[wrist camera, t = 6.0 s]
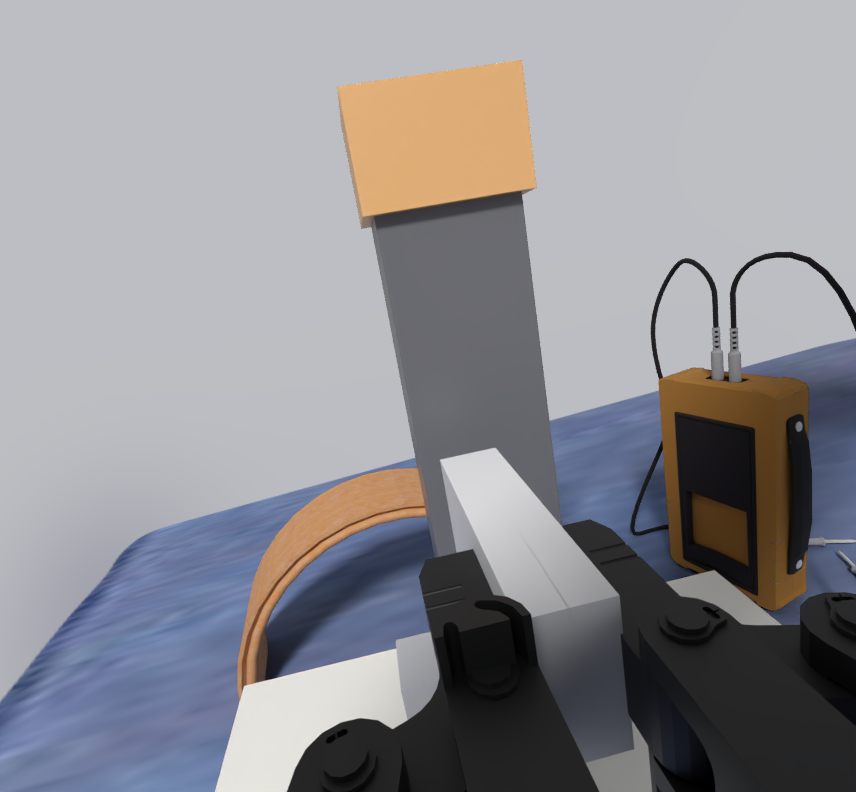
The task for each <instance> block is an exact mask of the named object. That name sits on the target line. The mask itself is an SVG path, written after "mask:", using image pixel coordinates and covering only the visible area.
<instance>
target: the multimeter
mask: <svg viewBox="0 0 856 792" xmlns="http://www.w3.org/2000/svg"><path fill="white" fill-rule="evenodd" d="M781 257H782V258H789V257H790V258H793V259H796V260H799V261H803V262H806V263H808V264H809V265H810V266H812V267H813V268H814V269H816V270H817V271H818V272H819V273H821V274H822V275H823V276H824V277H825V278H826V280H827V281H828V283H829V284H830V285H831V286H832V287H833V289H834V290H835V291H836V293H837V294H838V296H839V298H840V299H841V301H842V303H843V305H844V307H845V309H846V310H847V312H848V314H849V316H850V318H851V321H852V323H853V325H854V328H855V331H856V312H855V311H854V309H853V307H852V306H851V303H850V302H849V300H848V298H847V296H846V294H845V292H844V291H843V289H842V288H841V287H840V286H839V284H838V283H837V282H836V281H835V279H834V278H833V277H832V276H831V274H830V273H829V272H828V271H827V270H826V269H825V268H823V267H822V266H821V265H819V264H818V263H817V262H815V261H814V260H813V259H811V258H810V257H806V256H803V255H800V254H796V253H793V252H774V253H769V254H764V255H761V256H759V257H756V258H754V259H753V260H751V261H750V262H748V263H747V264H746V265H745V266H744V267H743V268H742V269H741V270H740V271H739V272H738V274H737V275H736V277H735V279H734V281H733V283H732V286H731V292H730V309H731V328H730V347H731V349H730V352H729V353H728V362H729V372H724V368H723V351H722V350H721V346H720V327H718V300H717V290H716V286H715V283H714V282H713V279H712V277H711V276H710V275H709V273H708V272H707V271H706V270H705V268H704V267H703V266H701V265H700V264H699V263H698V262H696V261H695V260H692V259H688V258H685V259H682V260H680V261H678V262H677V263H676V264H675V265H674V267H673V268H672V269H671V271H670V272H669V274H668V275H667V277H666V279H665V281H664V283H663V285H662V287H661V289H660V291H659V294H658V296H657V299H656V302H655V306H654V310H653V314H652V321H651V342H652V351H653V356H654V361H655V365H656V370H657V373H658V377H659V395H660V410H661V425H662V442H661V444H660V447H659V449H658V451H657V454H656V456H655V458H654V461H653V463H652V465H651V468H650V470H649V472H648V475H647V477H646V480H645V482H644V484H643V487H642V489H641V492H640V494H639V497H638V500H637V503H636V505H635V509H634V512H633V515H632V520H631V530H632V533H633V535H642V534H645V533H649V532H652V531H656V530H660V529H664V528H669V535H670V548H671V550H670V554H671V557H672V559H673V560H674V561H675V562H676V563H678V564H680V565H681V566H683V567H685V568H686V569H688V568H691V569H693V570H695V571H697V572H699V573H705V572H709V571H713V570H715V571H716V572H717V573H718V574H720V575H721V576H722V577H723V578H725V579H726V580H727V581H728V582H730V583H731V584H732V585H733V586H734V587H736V588H737V589H738V590H739V591H741V592H742V593H743V594H744V595H746V596H747V597H748V598H750V599H752V600H754V601H756V602H757V605H758V606H761V607H763V608H765V609H768V610H770V611H776V610H778V609H780V608H782V607H783V606H785V605H786V604H788V603H789V602H791V601H792V600H794V599H795V598H797V597H798V596H800V595H802V594H803V593H805V592H806V591H807V588H806V564H807V550H808V546H819V545H821V546H825V545H826V543H854V542H856V540H825V539H824V537H820V538H810V531H811V525H812V468H811V459H810V449H809V441H808V399H809V388H808V386H807V384H806V383H804V382H802V381H800V380H798V379H792V378H787V377H782V378H777V377H768V376H760V375H751V374H742V373H741V353H740V352H739V351H738V328H736V295H735V293H736V288H737V284H738V282H739V280H740V278H741V276H742V275H743V273H744V272H745V271H746V270H747V269H748V268H749V267H750V266H752V265H753V264H755V263H757V262H760V261H762V260H765V259H770V258H781ZM683 263H689V264H692V265H693V266H695V267H696V268H697V269H699V270H700V271H701V272H702V274H703V275H704V276H705V277H706V279H707V281H708V283H709V285H710V288H711V291H712V303H713V328H712V331H713V333H712V335H713V351H712V352H711V367H712V370H706V369H704V368H690V369H687V370H684V371H681V372H679V373H676V374H673V375H670V376H667V377H664V378H663V376H662V373H661V369H660V365H659V360H658V355H657V349H656V339H655V323H656V316H657V311H658V307H659V304H660V301H661V298H662V295H663V293H664V291H665V288H666V286H667V284H668V282H669V281H670V279H671V277H672V276H673V274H674V273H675V271H676V270H677V269H678V268H679V266H680V265H682V264H683ZM662 450H663V456H664V471H665V484H666V497H667V510H668V523H669V525H663V526H659V527H655V528H651V529H647V530H644V531H641V532H635V529H634V526H635V519H636V515H637V512H638V509H639V506H640V503H641V500H642V498H643V495H644V492H645V490H646V487H647V485H648V482H649V480H650V478H651V475H652V473H653V471H654V468H655V466H656V464H657V462H658V459H659V457H660V455H661V452H662ZM838 551H839V550H838ZM839 553H840V555H841V556H842V557H843V558H844V559H845V560H846V561H847V562H848V563H849V564H850V565H851V566H852V567H851V571H852V572H853V573H854V574H856V565H854V564H853V563H852V562H851V561H850V560H849V559H848V558H847V557H846V556H845V555H844V553H842V552H841V551H839Z"/></svg>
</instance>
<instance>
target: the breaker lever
mask: <svg viewBox="0 0 856 792" xmlns="http://www.w3.org/2000/svg"><path fill="white" fill-rule="evenodd" d="M338 98H339V108H340V117H341V126H342V132H343V137H344V142H345V147H346V152H347V157H348V162H349V167H350V172H351V178H352V183H353V188H354V193H355V198H356V203H357V208H358V213H359V219H360V224H361V228H367V227H372V232H373V238H374V243H375V248H376V253H377V259H378V264H379V269H380V274H381V279H382V285H383V290H384V295H385V301H386V305H387V310H388V316H389V321H390V327H391V332H392V337H393V342H394V347H395V353H396V358H397V363H398V368H399V374H400V379H401V384H402V390H403V395H404V400H405V405H406V410H407V415H408V421H409V425H410V431H411V437H412V442H413V447H414V452H415V458H416V463H417V468H418V473H419V478H420V484H421V489H422V494H423V499H424V505H425V510H426V515H427V520H428V526H429V531H430V536H431V541H432V547H433V552H434V557H435V558H436V557H441V556H445V555H449V554H453V553H457V552H456V546H455V541H454V535H453V530H452V524H451V518H450V513H449V507H448V502H447V496H446V491H445V485H444V480H443V474H442V469H441V463H440V460H441V459H445V458H450V457H455V456H459V455H464V454H468V453H473V452H478V451H482V450H487V449H491V448H496V449H497V450H498V451H499V453H500V454H501V455H502V456H503V457H504V459H505V460H506V461H507V462H508V463H509V464H510V466H511V467H512V468H513V469H514V470H515V472H516V473H517V474H518V475H519V476H520V478H521V479H522V480H523V481H524V482H525V483H526V485H527V486H528V487H529V488H530V489H531V491H532V492H533V493H534V494H535V495H536V497H537V498H538V499H539V500H540V501H541V503H542V504H543V505H544V506H545V507H546V508H547V510H548V511H549V512H550V513H551V514H552V516H553V517H554V518H555V519H556V520H557V522H558V523H559V524H560V525H561V526H562V521H561V513H560V504H559V496H558V488H557V480H556V472H555V463H554V455H553V447H552V439H551V430H550V422H549V414H548V406H547V398H546V390H545V381H544V373H543V365H542V357H541V348H540V341H539V332H538V324H537V315H536V307H535V299H534V291H533V283H532V274H531V267H530V258H529V250H528V241H527V234H526V225H525V217H524V209H523V200H522V195H523V194H525V193H527V192H528V191H530V190H532V189H534V188H536V178H535V169H534V161H533V152H532V143H531V134H530V127H529V118H528V109H527V100H526V91H525V82H524V73H523V65H522V60H518V61H511V62H504V63H497V64H490V65H483V66H476V67H469V68H462V69H455V70H448V71H441V72H435V73H428V74H421V75H414V76H407V77H400V78H393V79H386V80H379V81H373V82H365V83H359V84H352V85H345V86H338Z"/></svg>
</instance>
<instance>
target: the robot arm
mask: <svg viewBox="0 0 856 792" xmlns="http://www.w3.org/2000/svg"><path fill="white" fill-rule="evenodd" d="M440 463H441V469H442V474H443V480H444V485H445V491H446V496H447V502H448V507H449V513H450V518H451V524H452V530H453V535H454V541H455V546H456V552H457V553H453V554H449V555H445V556H441V557H436V558H432V559H428V560H426V561H425V563H424V566H423V568H422V571H421V573H420V575H419V579H420V584H421V589H422V594H423V599H424V604H425V609H426V613H427V618H428V623H429V628H430V633H431V638H432V643H433V647H434V652H435V657H436V661H437V666H438V670H439V681H438V685H437V689H436V691H435V693H434V694H433V696H432V698H431V700H430V701H429V702H428V703H427V704H426V705H425V706H424V708H423V709H422V710H421V711H420V712H418V713H417V714H416V715H414V716H413V717H411V718H410V719H409V720H407V721H405V722H404V723H402V724H400V725H399V726H397V727H395V728H394V729H392V728H390V727H388V726H387V725H385V724H383V723H382V722H380V721H379V720H372V719H364V718H358V719H354V720H349V721H345V722H341V723H339V724H337V725H335V726H333V727H332V728H330V729H328V730H326V731H325V732H323V733H321V734H320V735H319V736H318V737H317V738H316V739H315V740H314V741H313V742H312V743H311V744H310V745H309V746H308V747H307V748H306V750H305V751H304V753H303V755H302V757H301V759H300V760H299V762H298V764H297V766H296V768H295V770H294V773H293V776H292V779H291V781H290V784H289V787H288V790H287V792H599V790H598V788H597V785H596V783H595V781H594V779H593V777H592V775H591V773H590V771H589V769H588V767H587V765H586V763H587V762H591V761H594V760H598V759H601V758H605V757H608V756H612V755H616V754H619V753H623V752H626V751H630V750H633V749H634V740H633V730H632V721H633V723H634V724H635V726H636V727H637V729H638V731H639V732H640V734H641V735H642V737H643V738H644V740H645V742H646V743H647V745H648V750H649V762H650V773H651V784H652V792H856V594H851V593H846V592H844V593H822V594H819V595H816V596H812V597H809V598H808V599H807V600H806V601H805V602H804V603H803V604H802V605H801V606H800V625H745V624H741V623H740V622H738V621H737V620H736V619H735V618H734V617H733V616H732V615H730V614H729V613H727V612H726V611H724V610H723V609H721V608H720V607H718V606H717V605H715V604H712V603H709V602H706V601H703V600H701V599H698V598H690V597H682V596H680V595H679V594H678V593H677V592H676V591H675V590H673V589H672V588H671V587H670V586H669V585H668V584H667V583H666V582H665V581H664V580H663V579H662V578H661V577H660V576H659V575H658V574H657V573H656V572H655V571H654V570H653V569H652V568H651V567H650V566H649V565H648V564H647V563H646V562H645V561H644V560H643V559H642V558H641V557H638V556H637V554H636V553H635V552H634V551H633V550H632V549H631V548H630V547H629V546H628V545H626V544H625V542H624V541H623V540H622V539H621V538H620V537H619V536H618V535H617V534H616V533H615V532H614V531H613V530H612V529H610V528H608V527H606V526H603V525H601V524H599V523H597V522H594V521H592V520H585V521H581V522H577V523H573V524H568V525H564V526H561V525H560V524H559V523H558V522H557V520H556V519H555V518H554V517H553V516H552V514H551V513H550V512H549V511H548V510H547V508H546V507H545V506H544V505H543V504H542V503H541V501H540V500H539V499H538V498H537V497H536V495H535V494H534V493H533V492H532V491H531V489H530V488H529V487H528V486H527V485H526V483H525V482H524V481H523V480H522V479H521V478H520V476H519V475H518V474H517V473H516V472H515V470H514V469H513V468H512V467H511V466H510V464H509V463H508V462H507V461H506V460H505V459H504V457H503V456H502V455H501V454H500V453H499V451H498V450H497V449H496V448H491V449H487V450H482V451H478V452H473V453H468V454H464V455H459V456H455V457H450V458H445V459H441V460H440ZM631 719H632V720H631Z"/></svg>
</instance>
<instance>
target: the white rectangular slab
mask: <svg viewBox="0 0 856 792" xmlns="http://www.w3.org/2000/svg"><path fill="white" fill-rule="evenodd" d="M666 583H667V584H668V585H669V586H670V587H671V588H672V589H673V590H675V591H676V592H677V593H678V594H679V595H680V596H682V597H690V598H698V599H701V600H703V601H706V602H709V603H712V604H715V605H717V606H718V607H720V608H721V609H723V610H724V611H726V612H727V613H729V614H730V615H732V616H733V617H734V618H735V619H736V620H737V621H738V622H740V623H741V624H745V625H781V624H780V623H779V622H777V621H776V620H775V619H774V618H773V617H771V616H770V615H769V614H768V613H766V612H765V611H764V610H763V609H761V608H760V607H759V606H758V605H757V604H755V603H754V602H753V601H752V600H750V599H749V598H748V597H747V596H746V595H744V594H743V593H742V592H741V591H739V590H738V589H737V588H736V587H734V586H733V585H732V584H731V583H730V582H728V581H727V580H726V579H725V578H723V577H722V576H721V575H720V574H718V573H717V572H716V571H715V570H713V571H709V572H705V573H701V574H697V575H693V576H688V577H684V578H680V579H676V580H672V581H668V582H666ZM395 641H396V649H392V650H388V651H384V652H380V653H376V654H372V655H368V656H364V657H360V658H356V659H352V660H348V661H344V662H339V663H335V664H331V665H327V666H323V667H319V668H315V669H311V670H307V671H303V672H299V673H295V674H291V675H287V676H283V677H279V678H275V679H271V680H266V681H262V682H258V683H254V684H250V685H246V686H244V688H243V692H242V696H241V699H240V703H239V707H238V710H237V714H236V718H235V721H234V725H233V728H232V732H231V736H230V739H229V743H228V747H227V750H226V754H225V758H224V761H223V765H222V768H221V772H220V776H219V779H218V783H217V787H216V790H215V792H287V790H288V787H289V784H290V781H291V779H292V776H293V773H294V770H295V768H296V766H297V764H298V762H299V760H300V759H301V757H302V755H303V753H304V751H305V750H306V748H307V747H308V746H309V745H310V744H311V743H312V742H313V741H314V740H315V739H316V738H317V737H318V736H319V735H320V734H321V733H323V732H325V731H326V730H328V729H330V728H332V727H333V726H335V725H337V724H339V723H341V722H345V721H349V720H354V719H358V718H364V719H372V720H379V721H380V722H382V723H383V724H385V725H387V726H388V727H390V728H392V729H394V728H395V727H397V726H399V725H400V724H402V723H404V722H405V721H407V720H409V719H410V718H411V717H413V716H414V715H416V714H417V713H418V712H420V711H421V710H422V709H423V708H424V706H425V705H426V704H427V703H428V702H429V701H430V700H431V698H432V696H433V694H434V693H435V691H436V689H437V685H438V681H439V670H438V666H437V661H436V657H435V652H434V647H433V643H432V638H431V633H430V632H427V633H423V634H419V635H415V636H411V637H407V638H403V639H399V640H395ZM631 720H632V719H631ZM632 730H633V740H634V749H633V750H630V751H626V752H623V753H619V754H616V755H612V756H608V757H605V758H601V759H598V760H594V761H591V762H587V763H586V765H587V767H588V769H589V771H590V773H591V775H592V777H593V779H594V781H595V783H596V785H597V788H598V790H599V792H652V784H651V773H650V762H649V750H648V745H647V743H646V742H645V740H644V738H643V737H642V735H641V734H640V732H639V731H638V729H637V727H636V726H635V724H634V723H633V721H632Z"/></svg>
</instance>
